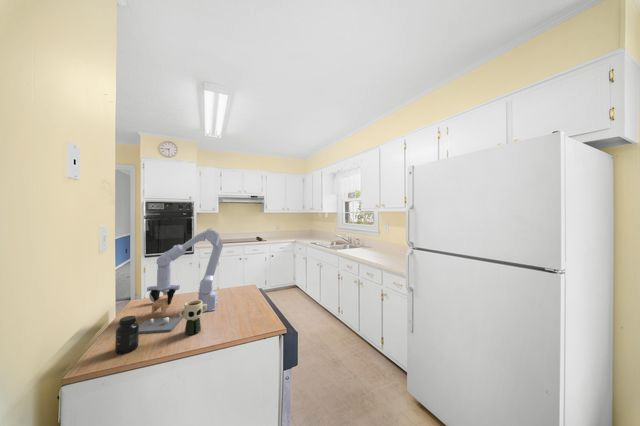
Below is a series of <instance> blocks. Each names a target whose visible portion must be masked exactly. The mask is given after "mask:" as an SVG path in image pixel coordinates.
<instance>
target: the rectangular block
mask: <svg viewBox="0 0 640 426" xmlns="http://www.w3.org/2000/svg"><path fill="white" fill-rule="evenodd" d="M159 297H160V298H159V299H158V300H156V301H155V302H152V303H151V313H152V314H154V313H156V312H157V311H158V310H159V309H160V313H164V312H165V311H166V310H168V309H169V308H170V307H171V306H172V305H173V304H174V302H175V300H174V299H175V298H174V297H175V294H174V295H173V297H172V301H171V304H170V305H168V296H167V295H163V294H162V296H159Z"/></svg>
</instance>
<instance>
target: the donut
mask: <svg viewBox="0 0 640 426" xmlns="http://www.w3.org/2000/svg"><path fill="white" fill-rule="evenodd" d="M168 291H169V290H160V293H162V296H163V295H167V292H168ZM151 292H152V291H149V300H150V302H152V303H154V302H155V301H154V299H153V297H152V296H151V294H150V293H151ZM160 297H161V296H159V298H160Z"/></svg>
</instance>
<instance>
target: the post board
mask: <svg viewBox="0 0 640 426" xmlns="http://www.w3.org/2000/svg"><path fill="white" fill-rule="evenodd" d="M182 320H183V317H179V316H178V317H169V316H167V317H163V318H148V319H147V320H145V321H144V322H143V323H141V324H139V335H142V334H154V333H156V334H157V333H169V332H172V331H173V330H174V329H175V328H176V326H178V325H179V323H180V322H182Z"/></svg>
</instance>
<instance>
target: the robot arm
mask: <svg viewBox="0 0 640 426" xmlns="http://www.w3.org/2000/svg"><path fill="white" fill-rule="evenodd" d="M206 240H207V241H208V242H209V243H210V244H211V245H212V250H211V254H210V256H209V257H210V258H209V260H208V262H207V263H208V264H207V266H206V270H205V274H204V276H203V278H202V280H201V281H200V283H199V290H198V296H197V297H198V299H197V300H201V301H202V303H203V304H207V310H206V311H205V312H211V311H215V310H216V308H217V307H218V296H219V294H218V291H214V289H213V280H214V276H215V273H216V269H217V267H218V266H217V265H218V262H219V259H220V256H221V253H222V250H223V246H224V244H223V242H222V239H221V236H220V233H219V232H218V231H217V230H216V229H214V228H213V227H212V228H211V227H209V228H207V229H206V230H204V231H202V232H200V233H198V234H196V235H194V236H193V237H191V239H188V241H186V242H185V243H183V244H176V245H173V246H172V248H171V249H169V250H167V251H164V252H163V254H161V255H160V256H159V257H158V258H157V259H156V265H157V269H156V285H152V286H147V287H146V292H149V294H151V296H152V297H153V299H154V301H156V300H158V299H159V297H160V294H161V292H160V290H169V291H168V292H167V296H168V305H170V304H171V301H172V297H173V295H174V296H175V293H176V291H179V290H180V289H181V286H180V285H179V284H178V285H176V284H171V271H172V270H171V263H172V262H174V261H175V260H178V259H179V258H180V257H181V256H183V255H185V254H186V251H187V250H188V249H189V248H191V247H193V246H194V245H195V244H198V243H199V242H205V241H206ZM151 291H152V292H151ZM150 292H151V293H150ZM203 304H202V305H203ZM202 310H204V307H202Z"/></svg>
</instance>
